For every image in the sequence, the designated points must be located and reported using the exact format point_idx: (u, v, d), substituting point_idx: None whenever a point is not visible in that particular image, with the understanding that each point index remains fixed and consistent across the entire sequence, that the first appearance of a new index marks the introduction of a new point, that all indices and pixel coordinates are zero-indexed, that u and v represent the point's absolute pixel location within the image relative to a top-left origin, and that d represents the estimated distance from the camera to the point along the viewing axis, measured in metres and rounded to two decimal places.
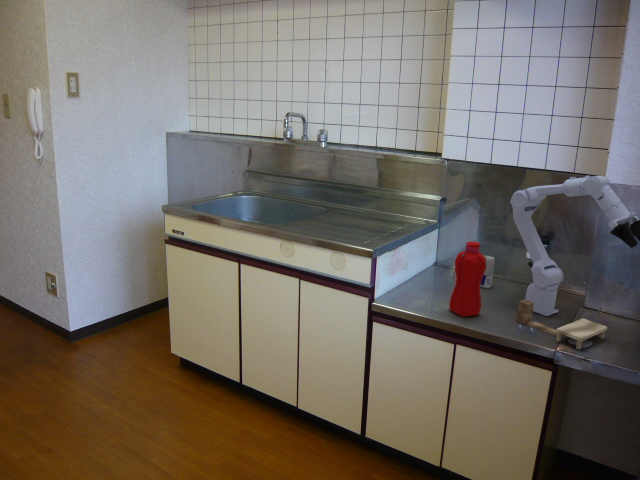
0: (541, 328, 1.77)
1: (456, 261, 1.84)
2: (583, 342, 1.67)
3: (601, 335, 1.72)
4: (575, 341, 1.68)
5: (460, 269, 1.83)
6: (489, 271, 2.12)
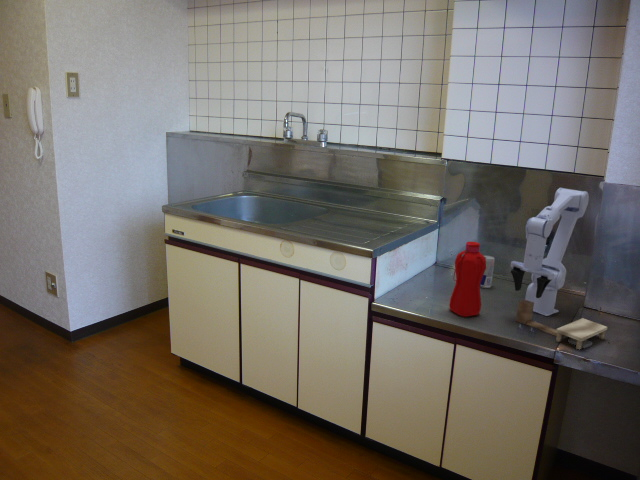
0: (541, 328, 1.77)
1: (456, 261, 1.84)
2: (583, 342, 1.67)
3: (601, 335, 1.72)
4: (575, 341, 1.68)
5: (460, 269, 1.83)
6: (489, 271, 2.12)
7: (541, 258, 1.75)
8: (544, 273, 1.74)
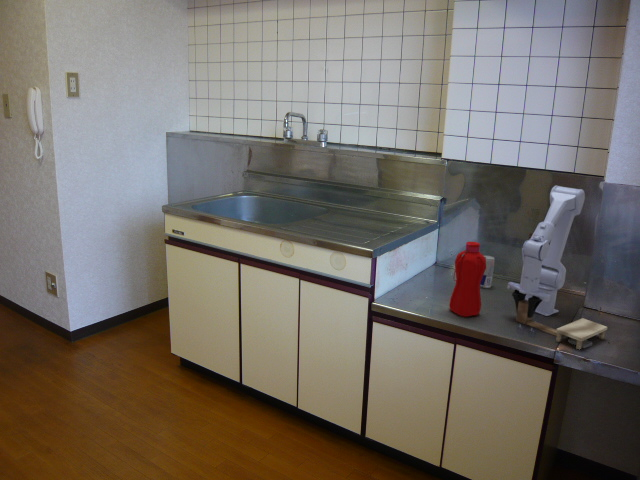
0: (541, 328, 1.77)
1: (456, 261, 1.84)
2: (583, 342, 1.67)
3: (601, 335, 1.72)
4: (575, 341, 1.68)
5: (460, 269, 1.83)
6: (489, 271, 2.12)
7: (537, 280, 1.77)
8: (540, 295, 1.76)
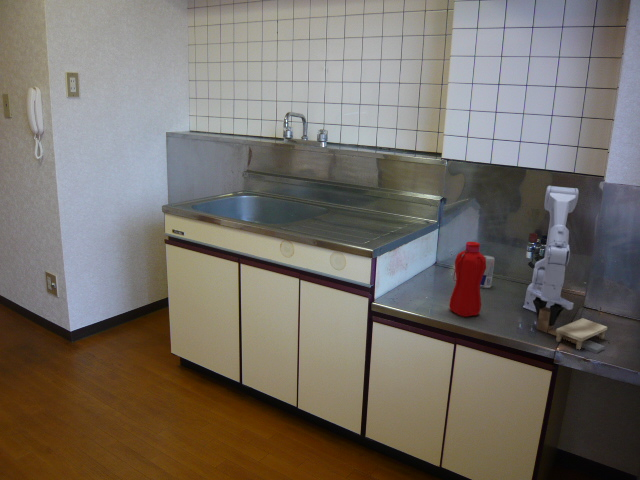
0: (563, 337, 1.71)
1: (456, 261, 1.84)
2: (595, 346, 1.65)
3: (601, 335, 1.72)
4: (587, 345, 1.65)
5: (460, 269, 1.83)
6: (489, 271, 2.12)
7: (560, 287, 1.71)
8: (563, 303, 1.70)
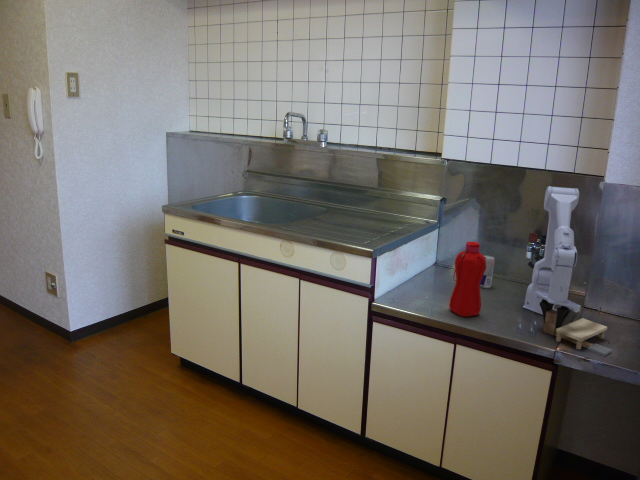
0: (570, 340, 1.69)
1: (456, 261, 1.84)
2: (603, 350, 1.63)
3: (601, 335, 1.72)
4: (595, 349, 1.63)
5: (460, 269, 1.83)
6: (489, 271, 2.12)
7: (567, 290, 1.69)
8: (570, 305, 1.68)
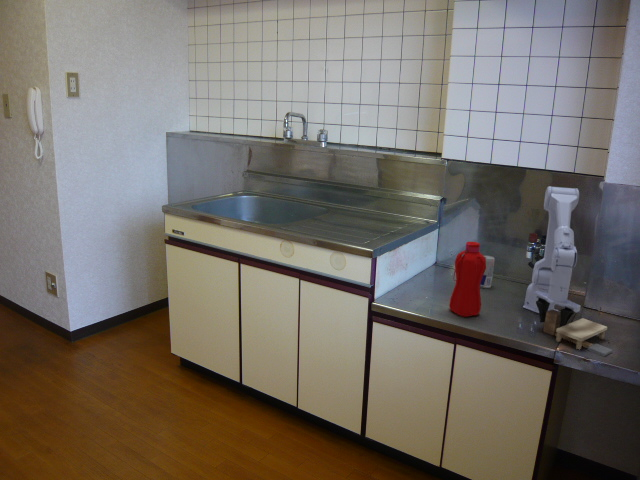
0: (571, 340, 1.69)
1: (456, 261, 1.84)
2: (603, 350, 1.63)
3: (601, 335, 1.72)
4: (595, 349, 1.63)
5: (460, 269, 1.83)
6: (489, 271, 2.12)
7: (567, 290, 1.69)
8: (570, 305, 1.68)
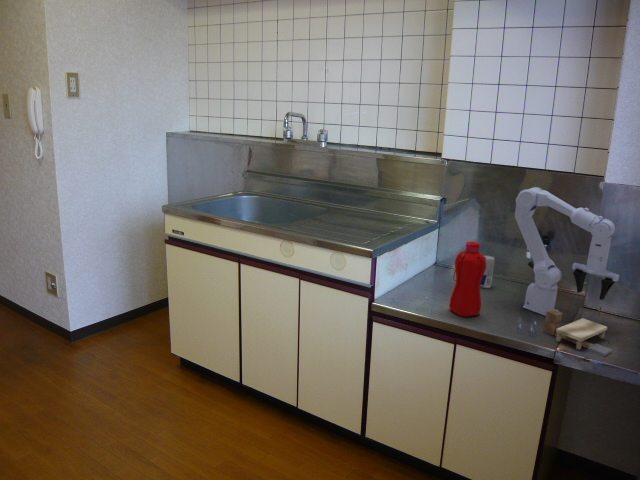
0: (571, 340, 1.69)
1: (456, 261, 1.84)
2: (603, 350, 1.63)
3: (601, 335, 1.72)
4: (595, 349, 1.63)
5: (460, 269, 1.83)
6: (489, 271, 2.12)
7: (605, 260, 1.77)
8: (609, 275, 1.75)
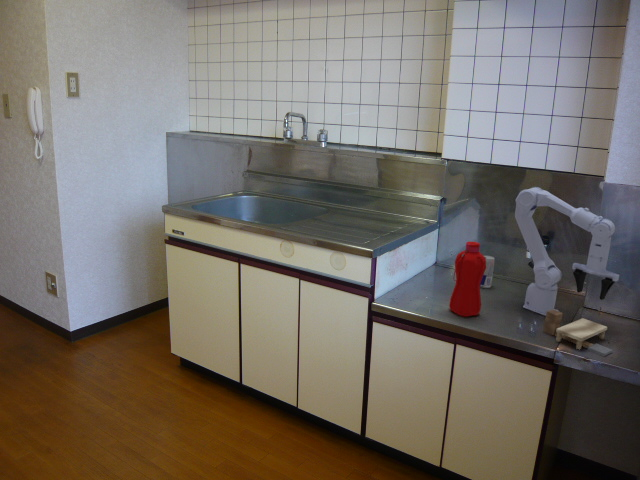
0: (571, 340, 1.69)
1: (456, 261, 1.84)
2: (603, 350, 1.63)
3: (601, 335, 1.72)
4: (595, 348, 1.63)
5: (460, 269, 1.83)
6: (489, 271, 2.12)
7: (605, 260, 1.77)
8: (609, 275, 1.75)
